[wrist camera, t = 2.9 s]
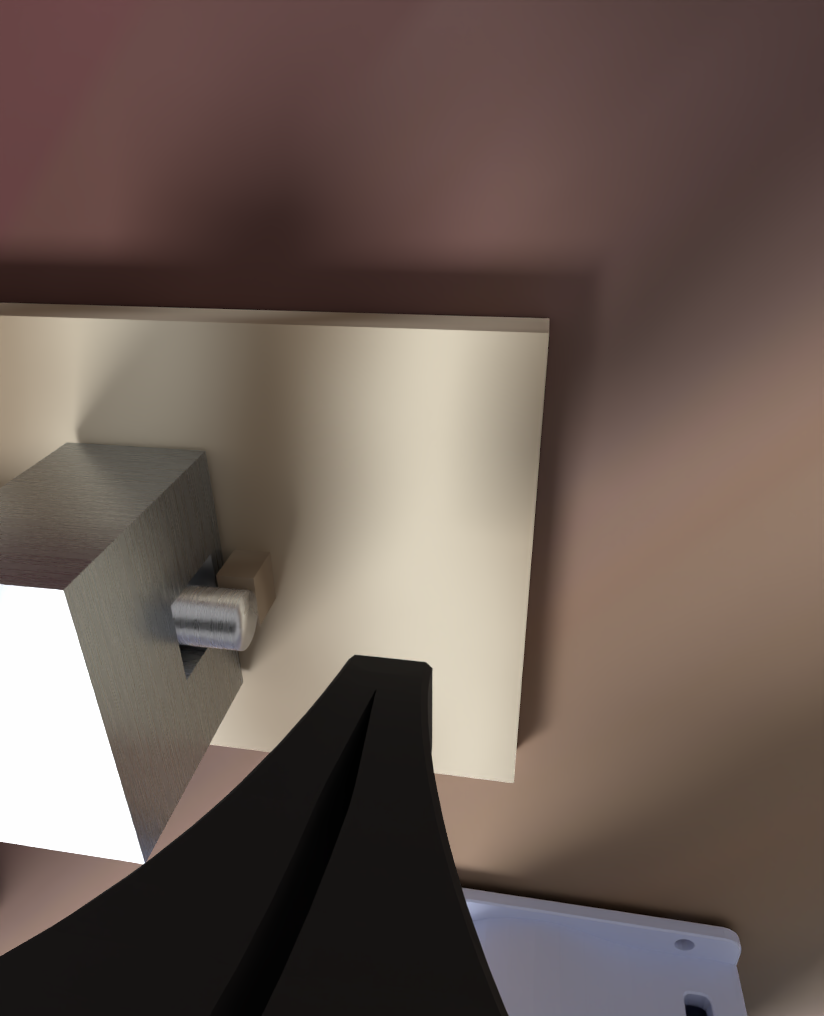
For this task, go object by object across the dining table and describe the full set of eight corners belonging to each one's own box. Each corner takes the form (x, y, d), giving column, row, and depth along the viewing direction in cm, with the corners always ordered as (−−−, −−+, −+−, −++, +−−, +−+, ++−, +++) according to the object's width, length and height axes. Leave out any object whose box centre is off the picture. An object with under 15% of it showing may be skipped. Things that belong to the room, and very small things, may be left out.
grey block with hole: (205, 451, 14) (63, 590, 10) (243, 681, 17) (144, 864, 13) (66, 442, 15) (-124, 572, 11) (126, 668, 18) (-5, 840, 13)
